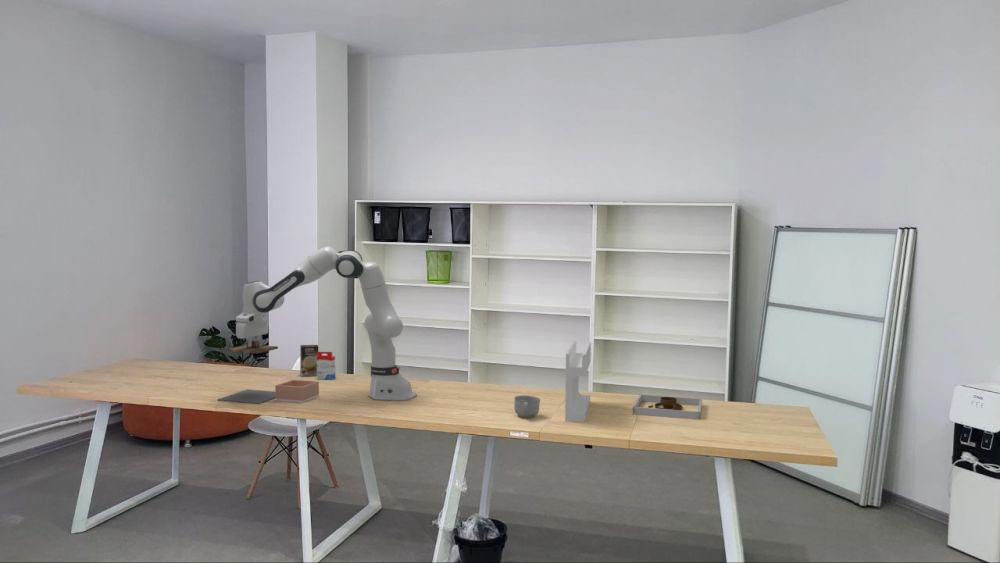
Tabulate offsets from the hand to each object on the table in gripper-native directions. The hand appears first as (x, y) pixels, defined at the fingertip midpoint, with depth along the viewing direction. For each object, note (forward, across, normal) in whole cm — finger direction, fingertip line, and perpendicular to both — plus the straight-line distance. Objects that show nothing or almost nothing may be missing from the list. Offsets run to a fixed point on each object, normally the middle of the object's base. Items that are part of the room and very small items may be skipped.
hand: (252, 345), depth 343 cm
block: (+22, -21, +149) cm, 152 cm away
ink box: (+24, -48, +11) cm, 54 cm away
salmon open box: (+24, -4, +21) cm, 32 cm away
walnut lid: (+2, 0, 0) cm, 2 cm away
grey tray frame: (+22, -36, +186) cm, 191 cm away
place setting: (+22, -35, +185) cm, 190 cm away
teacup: (+23, -5, +130) cm, 132 cm away
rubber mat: (+24, -1, 0) cm, 24 cm away
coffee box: (+24, -53, -2) cm, 58 cm away
